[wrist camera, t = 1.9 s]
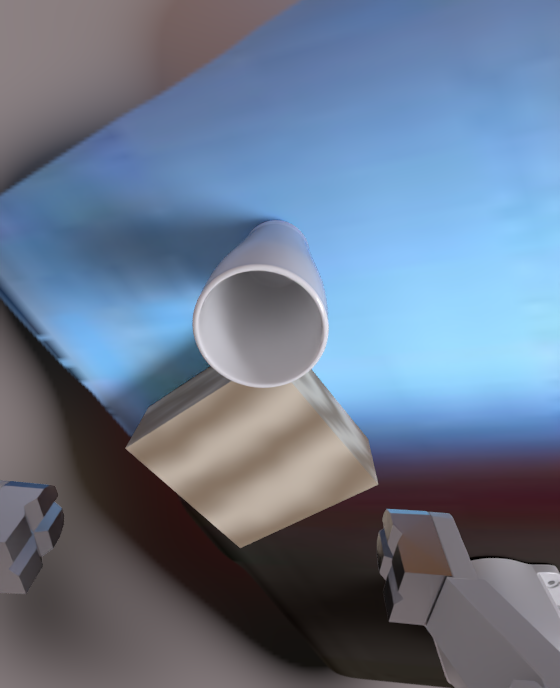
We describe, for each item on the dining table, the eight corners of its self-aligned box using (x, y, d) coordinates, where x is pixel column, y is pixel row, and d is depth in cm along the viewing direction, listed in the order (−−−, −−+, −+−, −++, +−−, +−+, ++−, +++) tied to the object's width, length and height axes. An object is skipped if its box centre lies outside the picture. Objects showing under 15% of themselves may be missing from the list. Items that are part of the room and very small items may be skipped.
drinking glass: (241, 294, 34) (204, 394, 21) (229, 213, 31) (175, 270, 18) (320, 288, 34) (333, 386, 20) (315, 204, 31) (326, 256, 17)
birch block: (368, 439, 41) (378, 484, 36) (247, 500, 46) (240, 548, 41) (274, 323, 35) (269, 356, 30) (148, 407, 40) (125, 448, 35)
